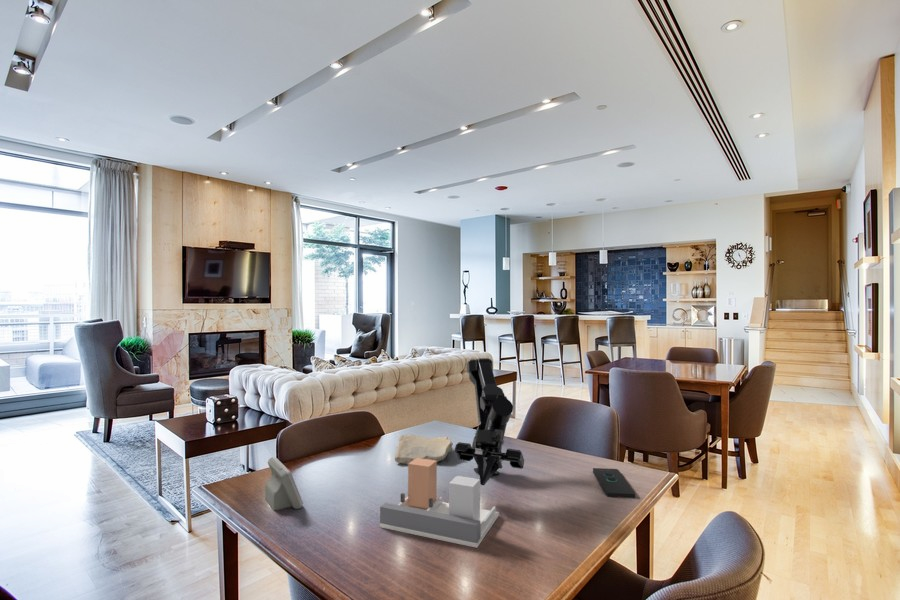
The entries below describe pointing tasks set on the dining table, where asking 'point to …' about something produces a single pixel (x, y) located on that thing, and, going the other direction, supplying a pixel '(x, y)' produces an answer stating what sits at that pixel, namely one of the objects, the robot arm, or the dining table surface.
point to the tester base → (436, 522)
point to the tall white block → (464, 497)
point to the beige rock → (422, 448)
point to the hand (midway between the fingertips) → (482, 484)
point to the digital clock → (281, 487)
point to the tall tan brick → (422, 482)
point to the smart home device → (613, 483)
